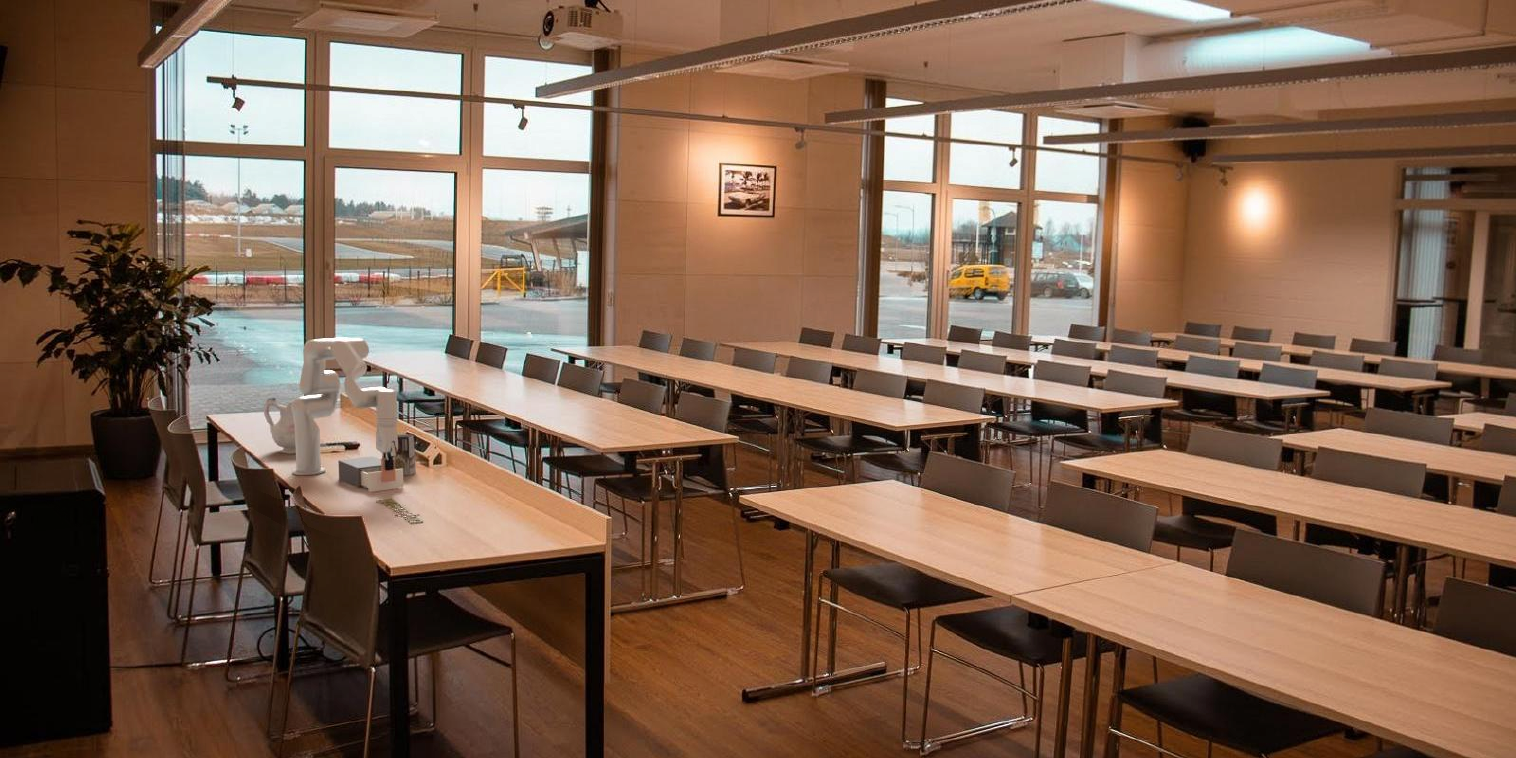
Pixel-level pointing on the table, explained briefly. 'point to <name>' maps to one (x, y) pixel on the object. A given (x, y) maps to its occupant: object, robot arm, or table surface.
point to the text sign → (393, 505)
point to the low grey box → (356, 469)
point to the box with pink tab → (381, 478)
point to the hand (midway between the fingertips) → (388, 469)
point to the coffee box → (405, 454)
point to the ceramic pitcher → (282, 426)
